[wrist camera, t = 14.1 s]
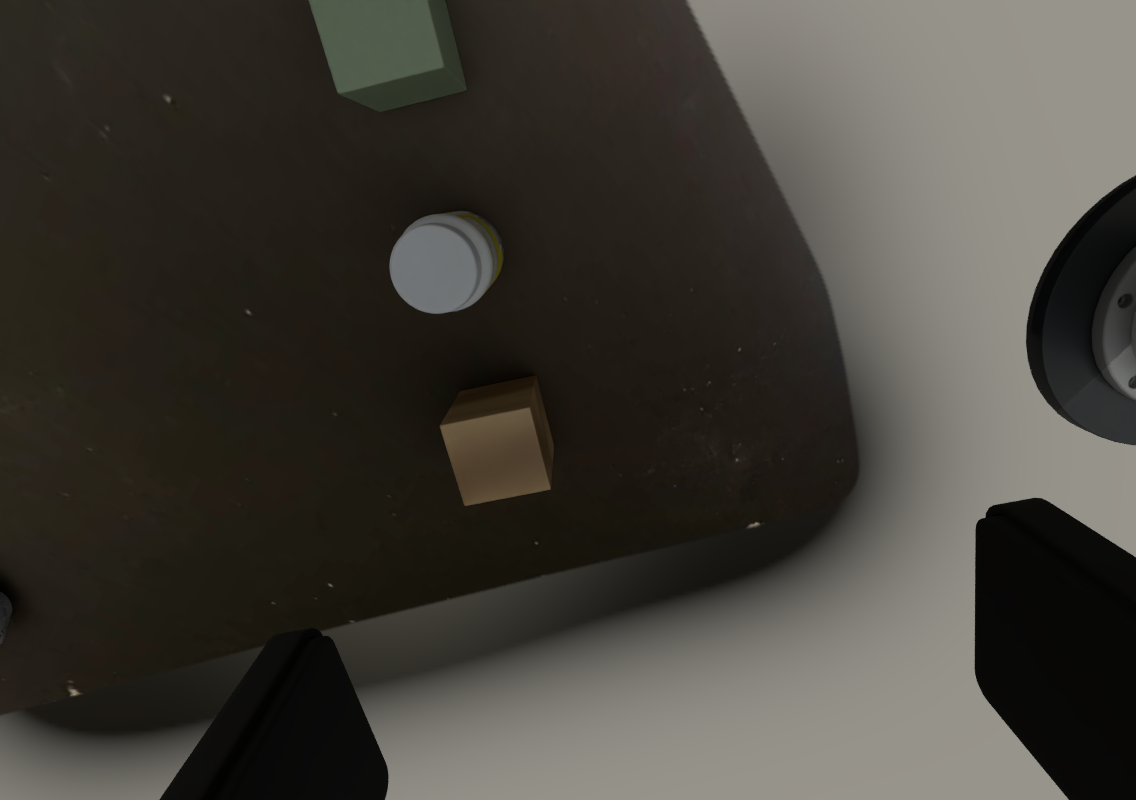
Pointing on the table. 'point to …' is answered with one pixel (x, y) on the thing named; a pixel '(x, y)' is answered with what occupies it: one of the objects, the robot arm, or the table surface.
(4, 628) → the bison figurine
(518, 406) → the oak block
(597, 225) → the table surface
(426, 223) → the supplement bottle
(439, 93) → the sage block
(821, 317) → the table surface
